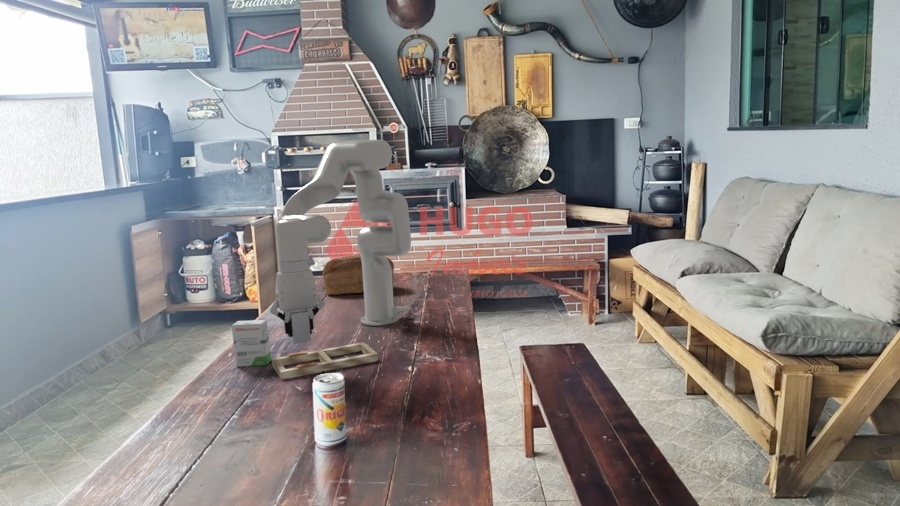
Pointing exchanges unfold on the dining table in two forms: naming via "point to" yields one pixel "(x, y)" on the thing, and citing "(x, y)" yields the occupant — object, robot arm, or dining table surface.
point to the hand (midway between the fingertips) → (299, 333)
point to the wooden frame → (323, 360)
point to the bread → (345, 275)
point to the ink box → (251, 343)
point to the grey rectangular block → (300, 326)
